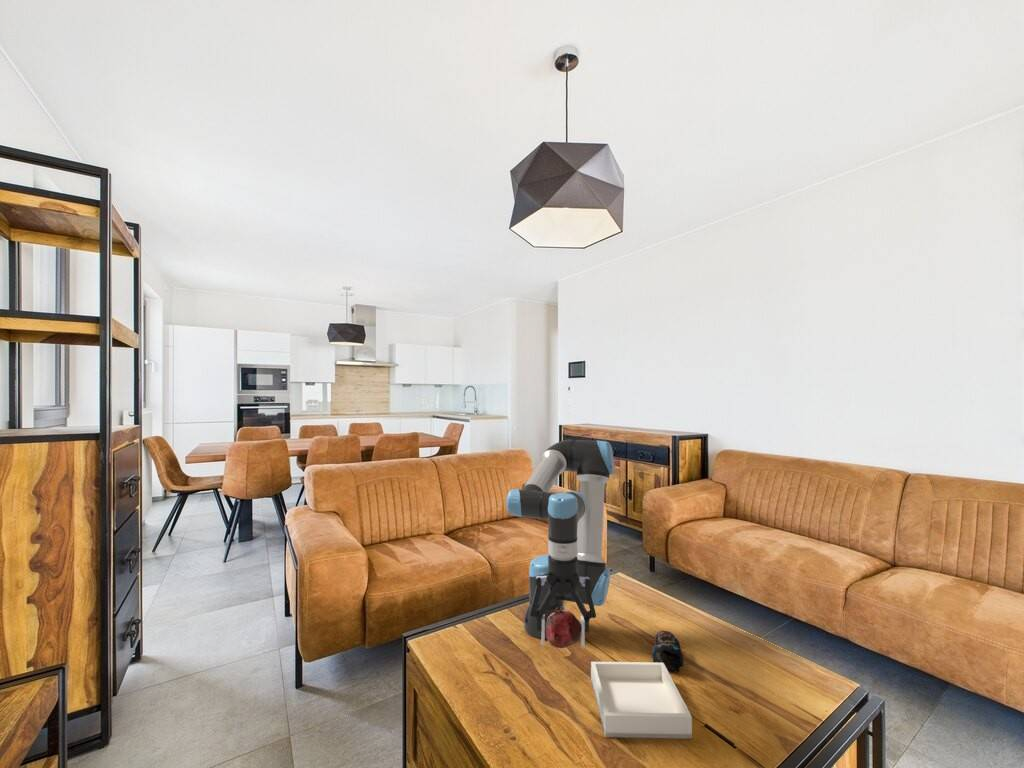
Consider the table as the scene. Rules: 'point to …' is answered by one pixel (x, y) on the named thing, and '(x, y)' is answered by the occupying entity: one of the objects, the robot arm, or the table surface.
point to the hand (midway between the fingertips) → (562, 643)
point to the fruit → (562, 628)
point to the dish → (639, 701)
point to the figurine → (667, 651)
